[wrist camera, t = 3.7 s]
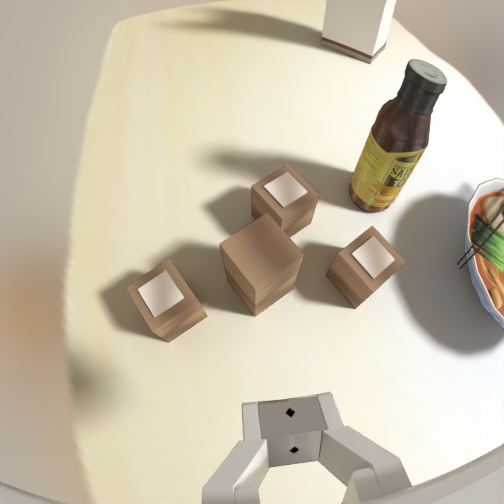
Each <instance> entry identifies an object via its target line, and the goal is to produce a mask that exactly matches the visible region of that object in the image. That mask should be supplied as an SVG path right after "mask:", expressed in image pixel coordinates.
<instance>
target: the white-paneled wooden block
mask: <svg viewBox="0 0 504 504" xmlns="http://www.w3.org/2000/svg"><path fill="white" fill-rule="evenodd" d="M251 189H252V216H253V217H254V219H255V220H257V219H258V218H260V217H261V216H263V215H264V214H266V213H268V214H269V216H270V217H271V218H272V219H273V220H274V221H275V222H276V223H277V224H278V226H279V227H280V228H281V229H282V230H283V231H284V232H285V233H286V234H287V236H288V237H289V238H290V237H291V236H293V235H294V234H296V233H297V232H299V231H300V230H302V229H303V228H304V227H306V226H307V225H309V224H310V223H311V221H312V218H313V214H314V211H315V208H316V204H317V201H318V198H319V194H318V193H317V192H316V191H315V190H314V189H313V188H312V187H311V186H310V185H309V184H308V183H307V182H306V181H305V180H304V179H303V178H302V177H301V176H300V175H299V174H298V173H297V172H296V171H295V170H294V169H293V168H292V167H291V166H290V165H289V164H288V165H286V166H284V167H282V168H281V169H279V170H277V171H276V172H274V173H272V174H270V175H269V176H267V177H265V178H264V179H262V180H260V181H259V182H257V183H255V184H253V185H252V186H251Z"/></svg>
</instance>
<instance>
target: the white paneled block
mask: <svg viewBox="0 0 504 504" xmlns="http://www.w3.org/2000/svg"><path fill="white" fill-rule="evenodd" d="M404 263H405V261H404V260H403V259H402V257H401V256H400V255H399V254H398V253H397V252H396V251H395V250H394V248H393V247H392V246H391V245H390V244H389V243H388V242H387V241H386V240H385V239H384V237H383V236H382V235H381V234H380V233H379V232H378V231H377V230H376V229H375V228H374V227H373V226H371V227H370V228H369V229H368V230H366V231H365V232H364V233H363V234H361V235H360V236H359V237H358V238H356V239H355V240H354V241H353V242H351V243H350V244H349V245H348V246H346V247H345V248H344V249H342V250H341V251H340V252H339V253H338V254H337V256H336V258H335V260H334V262H333V263H332V265H331V267H330V269H329V270H328V272H327V274H326V276H327V277H328V278H329V279H330V281H331V282H332V283H333V284H334V285H335V286H336V288H337V289H338V290H339V291H340V292H341V293H342V295H343V296H344V297H345V298H346V299H347V300H348V302H349V303H350V304H351V305H352V306H353V308H354V309H356V308H357V307H358V306H359V305H360V304H361V303H363V302H364V301H365V300H366V299H367V298H368V297H369V296H370V295H371V294H373V293H374V292H375V291H376V290H377V289H378V288H379V287H380V286H381V285H382V284H383V283H384V282H386V281H387V280H388V279H389V278H390V277H391V276H392V275H393V274H394V273H395V272H396V271H397V270H398V269H399V268H400V267H401V266H402V265H403V264H404Z"/></svg>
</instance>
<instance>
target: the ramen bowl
mask: <svg viewBox="0 0 504 504" xmlns="http://www.w3.org/2000/svg"><path fill="white" fill-rule="evenodd" d="M465 256H466V257H467V261H466V262H465V263H464V264H463V265H462V266H461V267H460V268H459V269H461V268H462V267H463V266H464V265H465V264H466V263H467V262H468V266H469V271H470V276H471V281H472V283H473V285H474V287H475V289H476V291H477V293H478V296H479V298H480V300H481V302H482V304H483V306H484V308H485V309H486V310H487V311H488V312H489V313H490V314H491V315H492V316H493V318H494V319H495V320H496V321H497V322H498V323H499V324H500V326H501V327H502V328H503V329H504V179H499V178H494V179H492V180H489V181H486V182H484V183H481V184H479V185H478V187H477V189H476V191H475V193H474V195H473V196H472V198H471V200H470V202H469V205H468V210H467V222H466V236H465V255H464V256H463V257H462V258H461V259H460V261H459V262H458V263H457V265H458V264H459V263H460V262H461V260H462V259H463V258H464V257H465Z"/></svg>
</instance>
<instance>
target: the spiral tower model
mask: <svg viewBox="0 0 504 504" xmlns="http://www.w3.org/2000/svg"><path fill="white" fill-rule="evenodd" d="M395 4H396V0H327V2H326V10H325V17H324V24H323V31H322V38H321V45H324V46H327V47H330V48H332V49H335V50H338V51H340V52H343V53H345V54H348V55H350V56H352V57H355V58H357V59H360V60H362V61H364V62H367V63H369V64H371V62H372V61H373V60H374V59H375V58H376V57H377V56H378V55H379V54H380V53H381V52H382V51H383V50H384V48H385V45H386V42H385V41H386V38H387V34H388V30H389V27H390V23H391V19H392V15H393V11H394V8H395Z"/></svg>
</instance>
